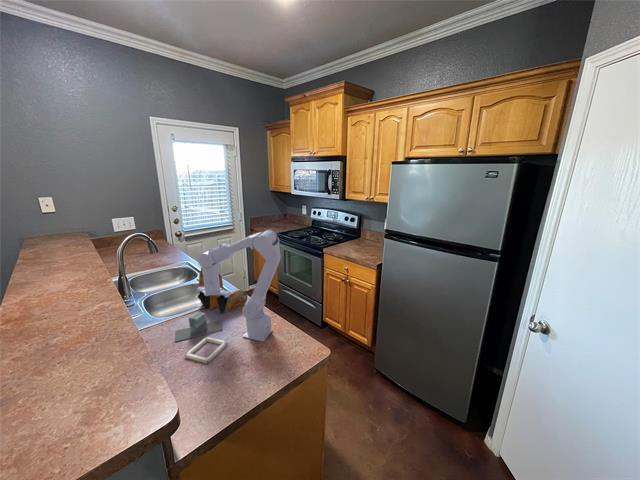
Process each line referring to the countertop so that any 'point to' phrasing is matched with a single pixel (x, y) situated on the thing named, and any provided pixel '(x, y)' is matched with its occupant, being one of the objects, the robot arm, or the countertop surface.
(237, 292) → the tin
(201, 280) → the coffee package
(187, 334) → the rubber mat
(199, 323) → the block
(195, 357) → the pocket frame
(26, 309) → the countertop surface
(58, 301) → the countertop surface
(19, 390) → the countertop surface
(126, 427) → the countertop surface
